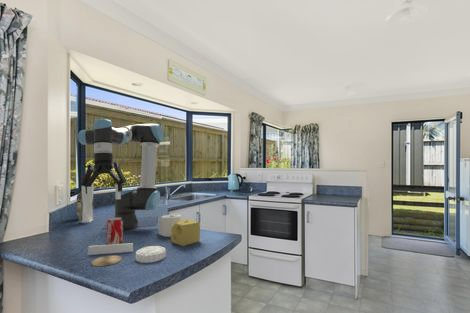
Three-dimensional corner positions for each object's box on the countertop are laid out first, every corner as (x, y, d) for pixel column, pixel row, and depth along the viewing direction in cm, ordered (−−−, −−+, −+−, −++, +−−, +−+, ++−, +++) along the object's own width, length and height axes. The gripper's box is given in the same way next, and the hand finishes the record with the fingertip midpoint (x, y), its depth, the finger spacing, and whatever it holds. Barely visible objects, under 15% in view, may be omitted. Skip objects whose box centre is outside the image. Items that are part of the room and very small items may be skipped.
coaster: (116, 254, 116) (116, 253, 116) (125, 261, 108) (125, 260, 108) (88, 261, 109) (88, 260, 109) (95, 268, 101) (95, 267, 101)
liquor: (85, 216, 200) (85, 176, 201) (95, 217, 197) (95, 176, 198) (74, 219, 192) (74, 177, 192) (84, 220, 189) (84, 177, 189)
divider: (133, 250, 121) (132, 242, 121) (132, 251, 120) (132, 243, 120) (89, 254, 117) (89, 245, 117) (88, 254, 116) (88, 246, 116)
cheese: (170, 242, 133) (170, 222, 134) (188, 237, 141) (188, 218, 141) (182, 246, 126) (182, 225, 126) (200, 241, 134) (200, 221, 134)
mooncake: (153, 251, 121) (153, 243, 121) (171, 256, 114) (171, 247, 114) (129, 259, 111) (129, 250, 111) (147, 265, 104) (147, 256, 104)
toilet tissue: (182, 235, 144) (182, 217, 145) (159, 238, 141) (159, 218, 141) (180, 231, 155) (180, 213, 155) (158, 233, 151) (158, 215, 151)
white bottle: (82, 221, 185) (82, 180, 186) (95, 220, 187) (95, 180, 187) (78, 224, 177) (78, 181, 177) (91, 223, 178) (91, 181, 179)
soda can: (103, 248, 126) (103, 219, 126) (112, 243, 133) (112, 216, 133) (117, 248, 125) (117, 220, 125) (125, 243, 132) (125, 217, 132)
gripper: (72, 154, 120) (72, 202, 118) (124, 149, 117) (125, 198, 115) (83, 156, 128) (83, 201, 125) (133, 151, 125) (134, 198, 122)
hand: (103, 200), depth 120 cm, fingers open, 13 cm apart
